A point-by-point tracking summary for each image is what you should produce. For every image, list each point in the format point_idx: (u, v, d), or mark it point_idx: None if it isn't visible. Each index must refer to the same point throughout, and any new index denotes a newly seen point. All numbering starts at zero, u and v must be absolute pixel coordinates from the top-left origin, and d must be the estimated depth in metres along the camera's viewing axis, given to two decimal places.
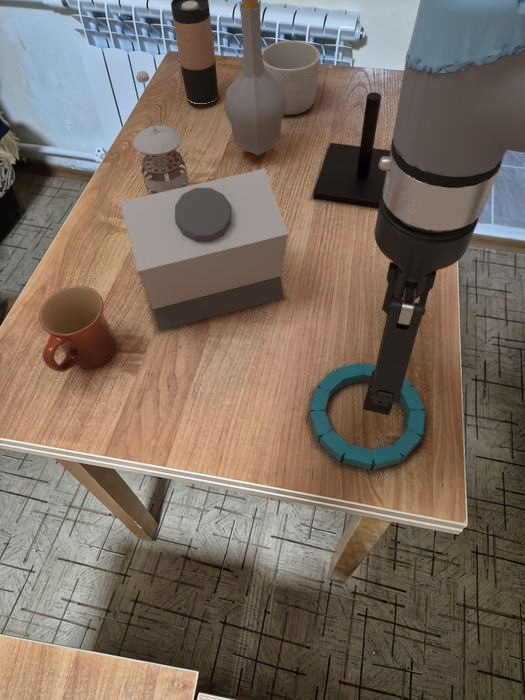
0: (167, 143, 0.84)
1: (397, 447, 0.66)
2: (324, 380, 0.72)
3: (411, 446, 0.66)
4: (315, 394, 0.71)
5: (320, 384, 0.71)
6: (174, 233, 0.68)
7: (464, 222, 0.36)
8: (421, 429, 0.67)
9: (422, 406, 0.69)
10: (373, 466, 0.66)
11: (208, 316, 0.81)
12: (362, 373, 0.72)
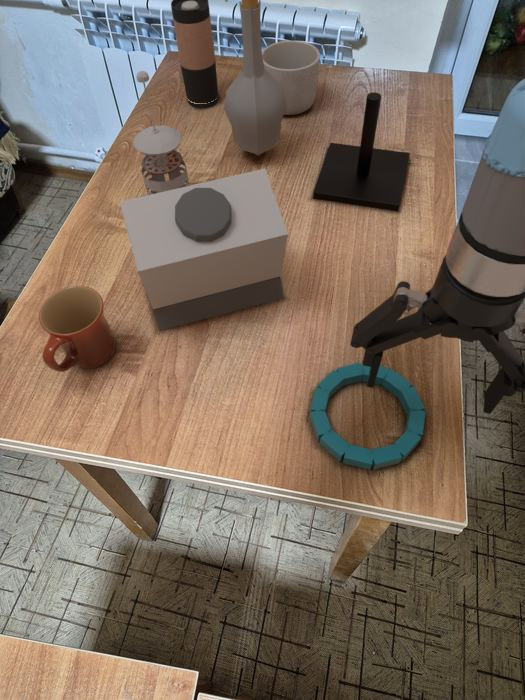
0: (167, 143, 0.84)
1: (397, 447, 0.66)
2: (324, 380, 0.72)
3: (411, 446, 0.66)
4: (315, 394, 0.71)
5: (320, 384, 0.71)
6: (174, 233, 0.68)
7: (455, 272, 0.42)
8: (421, 429, 0.67)
9: (422, 406, 0.69)
10: (373, 466, 0.66)
11: (208, 316, 0.81)
12: (362, 373, 0.72)
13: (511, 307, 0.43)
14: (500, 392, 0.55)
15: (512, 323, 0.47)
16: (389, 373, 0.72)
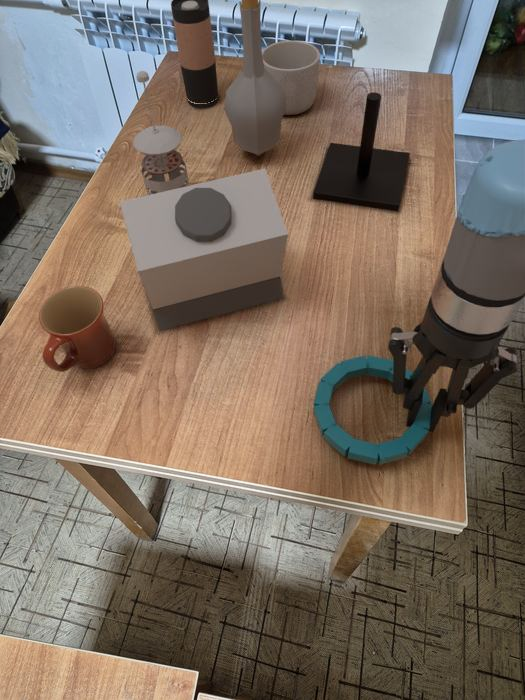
0: (167, 143, 0.84)
1: (403, 441, 0.64)
2: (328, 373, 0.70)
3: (418, 440, 0.64)
4: (318, 388, 0.69)
5: (323, 378, 0.70)
6: (174, 233, 0.68)
7: (439, 312, 0.46)
8: (428, 422, 0.65)
9: (429, 399, 0.67)
10: (379, 461, 0.64)
11: (208, 316, 0.81)
12: (367, 366, 0.70)
13: (491, 342, 0.47)
14: (437, 413, 0.62)
15: (496, 354, 0.51)
16: None
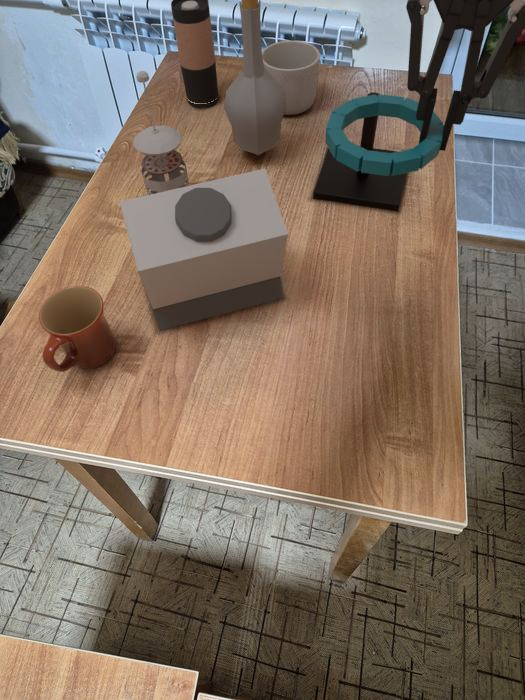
0: (167, 143, 0.84)
1: (416, 150, 0.64)
2: (339, 107, 0.70)
3: (431, 149, 0.64)
4: (330, 117, 0.69)
5: (335, 110, 0.70)
6: (174, 233, 0.68)
7: None
8: (440, 137, 0.66)
9: (440, 121, 0.67)
10: (392, 170, 0.64)
11: (208, 316, 0.81)
12: (378, 101, 0.71)
13: None
14: (450, 115, 0.63)
15: None
16: (405, 100, 0.70)
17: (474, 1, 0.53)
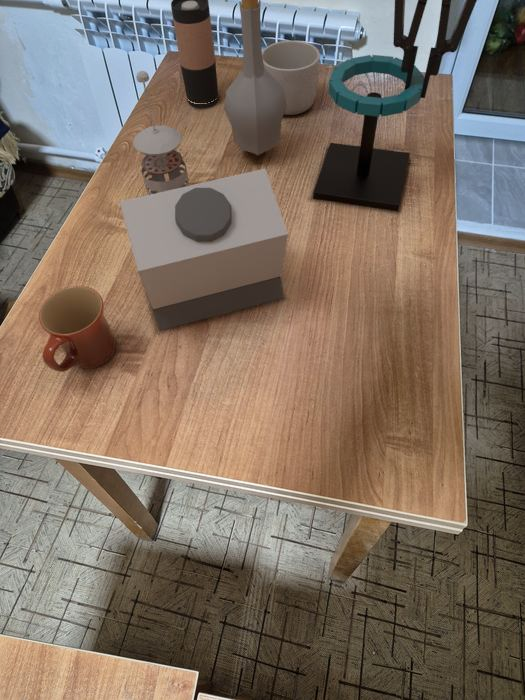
0: (167, 143, 0.84)
1: (401, 95, 0.80)
2: (340, 65, 0.86)
3: (413, 95, 0.80)
4: (333, 72, 0.85)
5: (336, 67, 0.86)
6: (174, 233, 0.68)
7: None
8: (421, 86, 0.82)
9: (421, 74, 0.83)
10: (382, 111, 0.80)
11: (208, 316, 0.81)
12: (371, 60, 0.87)
13: None
14: (428, 67, 0.79)
15: None
16: (394, 59, 0.87)
17: None
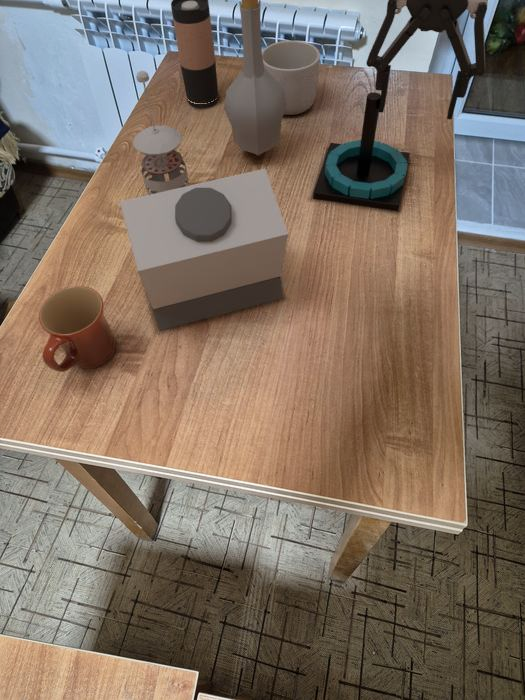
0: (167, 143, 0.84)
1: (387, 181, 0.93)
2: (334, 149, 0.99)
3: (397, 180, 0.93)
4: (328, 157, 0.98)
5: (331, 151, 0.99)
6: (174, 233, 0.68)
7: None
8: (404, 172, 0.95)
9: (405, 160, 0.96)
10: (370, 195, 0.93)
11: (208, 316, 0.81)
12: None
13: None
14: (455, 90, 0.80)
15: (466, 3, 0.71)
16: (381, 144, 1.00)
17: (437, 10, 0.73)
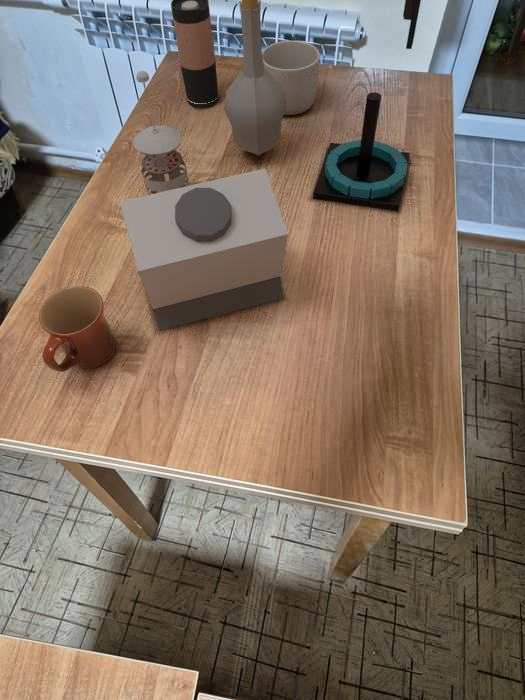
0: (167, 143, 0.84)
1: (387, 181, 0.93)
2: (334, 149, 0.99)
3: (397, 180, 0.93)
4: (328, 157, 0.98)
5: (331, 151, 0.99)
6: (174, 233, 0.68)
7: None
8: (404, 172, 0.95)
9: (405, 160, 0.96)
10: (370, 195, 0.93)
11: (208, 316, 0.81)
12: None
13: None
14: (523, 17, 0.65)
15: None
16: (381, 144, 1.00)
17: None
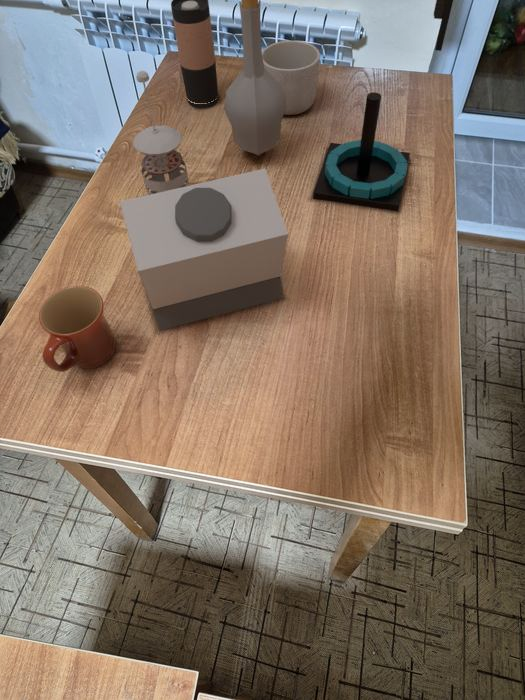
0: (167, 143, 0.84)
1: (387, 181, 0.93)
2: (334, 149, 0.99)
3: (397, 180, 0.93)
4: (328, 157, 0.98)
5: (331, 151, 0.99)
6: (174, 233, 0.68)
7: None
8: (404, 172, 0.95)
9: (405, 160, 0.96)
10: (370, 195, 0.93)
11: (208, 316, 0.81)
12: None
13: None
14: None
15: None
16: (381, 144, 1.00)
17: None
